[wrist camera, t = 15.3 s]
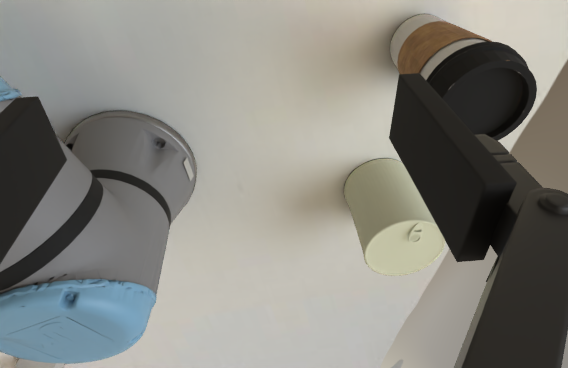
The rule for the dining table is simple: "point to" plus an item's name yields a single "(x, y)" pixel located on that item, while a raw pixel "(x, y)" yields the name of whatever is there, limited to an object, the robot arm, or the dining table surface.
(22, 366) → the grey upright block
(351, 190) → the can
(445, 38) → the coffee cup
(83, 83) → the dining table surface
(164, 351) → the dining table surface
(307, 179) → the dining table surface
